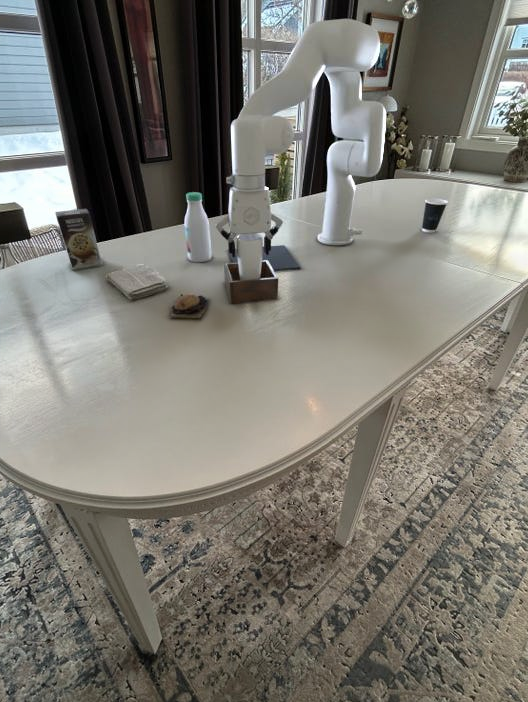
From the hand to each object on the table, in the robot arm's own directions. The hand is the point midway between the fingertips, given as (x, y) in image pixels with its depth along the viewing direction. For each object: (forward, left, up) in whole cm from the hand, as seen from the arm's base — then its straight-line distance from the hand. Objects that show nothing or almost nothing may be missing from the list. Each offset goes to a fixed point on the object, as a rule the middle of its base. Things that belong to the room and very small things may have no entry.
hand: (249, 254), depth 96 cm
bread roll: (+17, +7, -11) cm, 21 cm away
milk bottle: (+12, -27, -11) cm, 31 cm away
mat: (-8, -22, -10) cm, 26 cm away
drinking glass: (0, 0, -11) cm, 11 cm away
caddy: (0, 0, -10) cm, 10 cm away
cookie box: (+48, -29, -11) cm, 57 cm away
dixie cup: (-78, -38, -11) cm, 87 cm away
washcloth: (+31, -10, -11) cm, 34 cm away
